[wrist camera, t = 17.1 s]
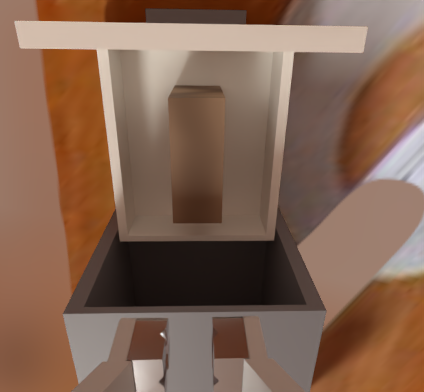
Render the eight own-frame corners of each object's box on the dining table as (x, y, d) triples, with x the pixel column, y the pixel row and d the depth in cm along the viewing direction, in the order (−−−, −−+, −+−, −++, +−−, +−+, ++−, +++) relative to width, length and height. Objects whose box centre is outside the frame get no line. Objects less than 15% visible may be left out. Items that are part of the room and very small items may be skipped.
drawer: (298, 16, 28) (373, -2, 16) (277, 216, 37) (315, 305, 24) (93, 12, 28) (8, -9, 16) (117, 216, 36) (74, 308, 24)
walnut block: (220, 85, 30) (225, 98, 23) (217, 188, 34) (221, 223, 28) (174, 85, 30) (167, 97, 23) (178, 189, 34) (173, 223, 28)
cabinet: (278, 207, 37) (326, 310, 23) (265, 327, 45) (295, 460, 31) (116, 208, 37) (62, 313, 23) (130, 329, 44) (97, 465, 30)
